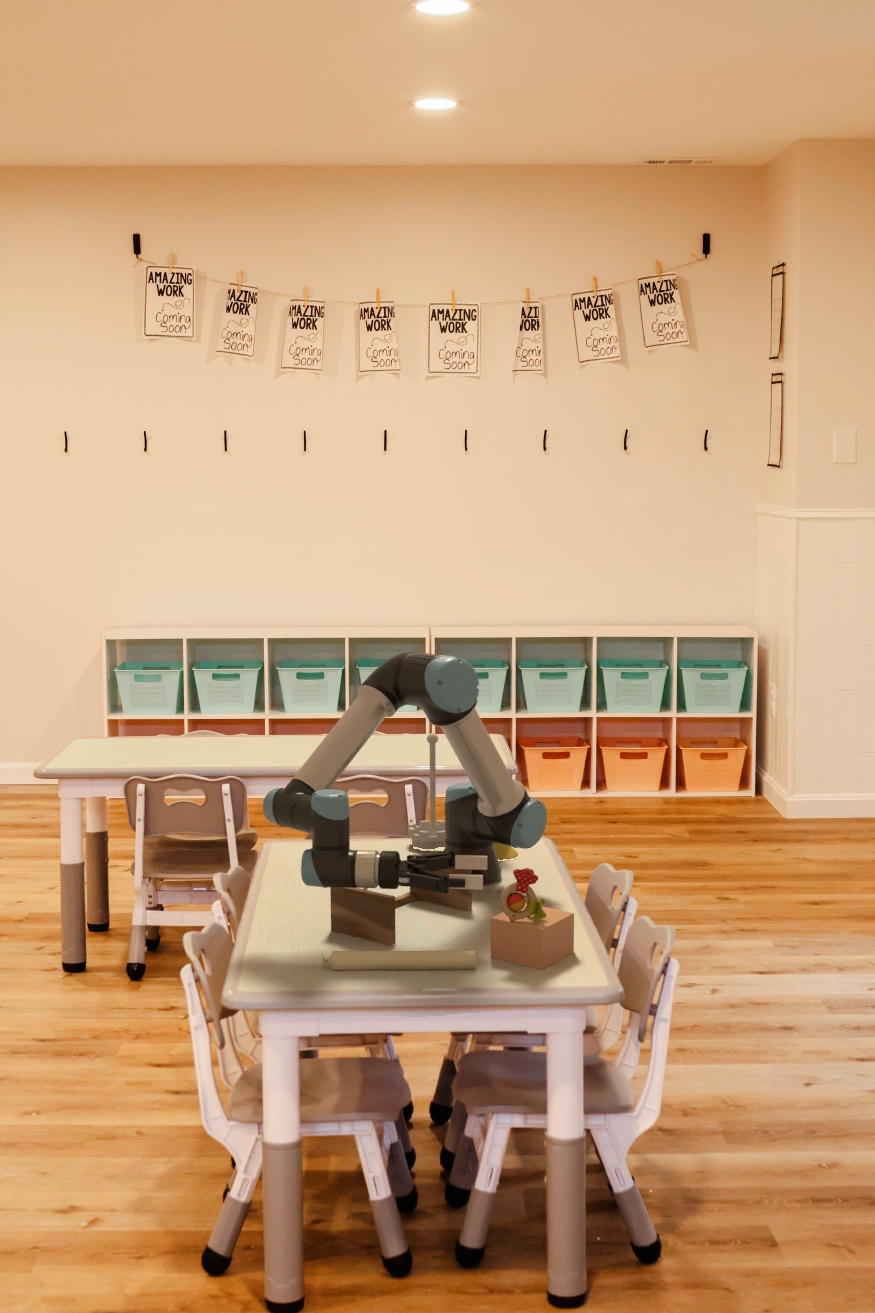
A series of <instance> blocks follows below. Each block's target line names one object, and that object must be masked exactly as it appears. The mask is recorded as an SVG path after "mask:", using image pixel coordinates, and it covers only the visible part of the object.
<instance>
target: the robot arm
mask: <svg viewBox="0 0 875 1313" xmlns="http://www.w3.org/2000/svg"><path fill="white" fill-rule="evenodd" d="M479 685H480V681H479V677H478V674H477V672H476V670H475V668H474V667H473V666H472V664H470V663H469V662H468V661H467V660H465V659H463V658H462V657H457V656H453V655H449V654H435V653H424V652H419V651H403V652H402V653H398V654H396V655H393V656H391V658H389V659H387V660H385V661H384V662H383V663H381V664H380V665H379V666H378V667H377V668H375V669H374V671H372V673H370V674H369V675H368V677H367V678H366V679H365V680H364V681H363V682H362V683H361V685H360V686H359V688H358V689H357V695H358V696H357V697H356V698H355V699H354V700H353V702H352V703H351V704H350V706H349V707H348V708H347V710H346V711H345V712H344V713H343V715H341V717H340V718H339V719H338V721H337V722H336V723H335V725H334V726H333V727H332V728H331V730H330V731H329V732H328V733H327V734H326V736H324V738H323V739H322V741H321V742H320V743H319V744H318V746H317V747H316V748H315V749H314V751H313V752H312V754H310V755H309V757H308V758H307V759H306V761H305V762H304V763H303V765H302V766H301V767H300V768H299V769H298V771H297V772H296V773H295V774H294V776H293V777H292V778H291V780H290V781H289V782H288V783H287V784H286V785H285V787H275V788H273V789H272V790H271V789H270V790H269V792H267V793H266V795H265V797H264V798H263V801H262V813H263V815H264V817H265V819H266V820H267V821H269V822H270V823H271V824H275V825H277V826H280V827H282V828H289V829H293V830H296V831H299V832H302V833H303V832H304V833H306V834H310V835H311V846H312V847H311V848H307V849H305V850H304V851H303V853H302V855H301V866H300V876H301V880H302V882H303V884H305V885H306V886H308V887H318V888H319V887H320V888H324V889H327V888H330V887H338V888H360V889H363V890H365V891H366V890H368V889H377V888H378V886H379V888H380V889H383V890H397V889H398V888H399V887H409V888H410V887H414V888H420V889H425V890H430V891H436V892H440V893H442V892H443V893H445V894H446V893H449V889H472V890H475V891H477V890H479V891H480V890H481V891H482V890H483V889H484V886H489V885H492V884H495V883H497V882H499V881H500V880H502V868H501V865H500V862H499V861H498V858H497V854H496V851H495V848H494V842H496V843H500V844H503V845H507V846H511V847H512V848H513V849H525V850H527V849H530V848H533V847H534V846H535V845H537V844H538V843H539V841H540V840H541V839H542V837H543V835H544V833H545V830H546V826H547V823H548V811H547V808H546V806H545V803H544V802H543V801H541V800H539V799H538V798H531V796H530V795H529V794H528V792H527V790H526V788H525V786H524V784H523V783H522V782H521V781H519V780H517V779H513V777H512V775H511V774H510V772H509V770H508V768H507V766H506V765H505V763H504V761H503V759H502V757H501V755H500V753H499V751H498V750H497V747H496V746H495V744H494V742H493V740H492V737H491V736H490V734H489V732H488V730H487V728H486V726H485V724H484V722H483V721H482V719H481V717H480V715H479V713H478V711H477V709H476V707H477V704H478V697H479V692H480V688H478V686H479ZM404 706H413V707H420V709H422V711H423V713H424V714H425V716H426V718H427V719H428V721H429V722H430V724H431V725H433V726H434V727H440V728H441V730H442V732H443V734H444V735H445V737H446V739H447V741H448V743H449V745H450V747H451V748H452V750H453V752H454V754H455V756H456V757H457V759H458V761H459V762H460V765H461V767H462V768H463V770H464V772H465V774H466V776H467V777H468V779H469V781H465V782H458V783H454V784H450V785H449V786H448V787H447V788H446V790H445V796H444V797H445V798H444V821H445V849H444V851H442V852H436V853H435V852H433V853H427V854H425V853H424V854H417V855H412V854H408V855H406V860H405V859H403V860H402V859H401V856H400V852H399V851H397V850H382V851H380V852H379V851H378V850H367V849H366V850H365V849H350V848H351V846H350V844H351V842H350V839H351V838H350V834H351V833H350V831H351V829H350V826H351V824H350V820H351V819H350V815H351V810H350V801H349V799H350V798H349V794H348V793H347V792H346V791H344V790H341V789H332V787H333V785H334V784H335V783H336V782H337V780H338V779H339V777H340V776H341V775H342V774H343V773H344V772H345V770H346V768H347V767H348V766H349V765H350V763H351V762H352V760H354V758H355V757H356V756H357V755H358V753H359V752H360V750H361V749H362V748H363V747H364V746H365V744H366V743H367V742H368V741H369V739H370V738H371V737H372V736H373V734H374V733H375V731H377V729H378V728H379V727H380V725H381V724H382V723H383V721H384V720H385V719H386V718H392V717H393V716H394V715H395V714H396V712H397V711H398V710H399V709H400V708H402V707H404ZM452 867H455V869H472V875H462V874H449V878H448V876H445V875H442V874H439V873H435V872H432V871H437V870H442V869H447V868H452ZM448 887H449V888H448Z"/></svg>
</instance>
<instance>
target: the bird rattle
mask: <svg viewBox="0 0 875 1313" xmlns="http://www.w3.org/2000/svg"><path fill="white" fill-rule="evenodd" d="M512 874H513V876H514V878H515V880H516V882H513V883H510V884H508V885H506V886H505V888H504V889H503V890H502V892H501V894H500V896H499V897H500V898H499V904H500V908H501V910H502V912H504V913H505V914H506V915H507V916H508V917H509V920H510V922H514V921H515V920H519V919H524V918H526V917H530V916H532V915H533V914H534V915H533V917H534V921H535V922H540V920H541V919H542V918H543V919H544V918H545V917H546V913H545V912H544V910H543V909H542V906H543V905H544V904H546V899H544V898H539V899H538V898H537V894H536V893H535V891H534V889H533V888H532V887H531V886H530V885H534V884H536V883H537V881H538V880H539V876H538V875H536V874H535V871H534V869H531V868H529V867H525V868H521V869H519V868H518V869H517V868H516V869H514V870H513V872H512ZM523 894H524V895H525V894H526V896H524V895H523ZM526 898H528V899H527V901H526ZM525 903H527V906H526V907H525V909H524V910H523V911H521V910H522V909H523V908H524V906H525ZM518 911H519V912H518Z"/></svg>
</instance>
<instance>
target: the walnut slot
mask: <svg viewBox="0 0 875 1313" xmlns="http://www.w3.org/2000/svg"><path fill="white" fill-rule="evenodd" d="M411 855H418V854H417V853H412V854H411ZM432 872H435V873H439V874H442V875H445V876H448V878H449V874H462V875H472V869H455V867H452V868H447V869H442V870H437V871H432ZM329 888H330V931H331V932H334V933H338V934H343V935H347V936H350V937H354V938H358V939H362V940H364V941H365V940H367V941H370V942H374V943H377V944H382V945H386V946H390V947H391V946H394V945H396V908H398V907H400V906H403V905H405V904H407V903H410V902H412V901H415V900H417V901H422V902H426V903H430V904H434V905H439V906H443V907H448V908H453V909H457V910H461V911H465V912H469V911H471V910H473V909H472V908H473V906H472V905H473V903H472V900H473V898H472V897H473V896H472V894H473V892H472V890H473V889H449V893H446V894H445V893H443V892H442V893H440V892H436V891H430V890H425V889H420V888H414V887H409V891H408V892H406V893H404V894H401V895H399V896H395V895H391V894H387V893H381V892H376V891H372V890H368V889H367V890H366V891H365V890H363V888H338V887H329ZM448 888H449V887H448Z"/></svg>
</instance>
